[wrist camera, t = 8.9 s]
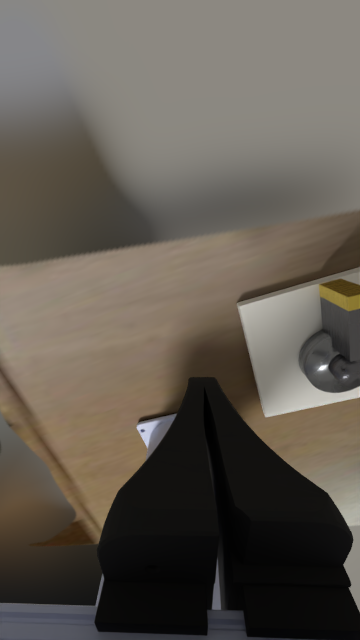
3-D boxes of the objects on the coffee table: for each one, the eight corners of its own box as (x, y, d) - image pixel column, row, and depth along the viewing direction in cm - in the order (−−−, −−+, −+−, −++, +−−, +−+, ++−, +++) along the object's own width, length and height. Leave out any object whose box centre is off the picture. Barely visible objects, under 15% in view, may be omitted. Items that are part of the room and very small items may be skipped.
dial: (367, 374, 21) (402, 402, 18) (301, 388, 22) (323, 418, 19) (368, 270, 18) (412, 280, 14) (289, 291, 18) (313, 306, 15)
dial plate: (401, 379, 23) (411, 387, 22) (262, 410, 25) (265, 418, 24) (407, 252, 18) (421, 254, 17) (236, 302, 20) (239, 307, 19)
